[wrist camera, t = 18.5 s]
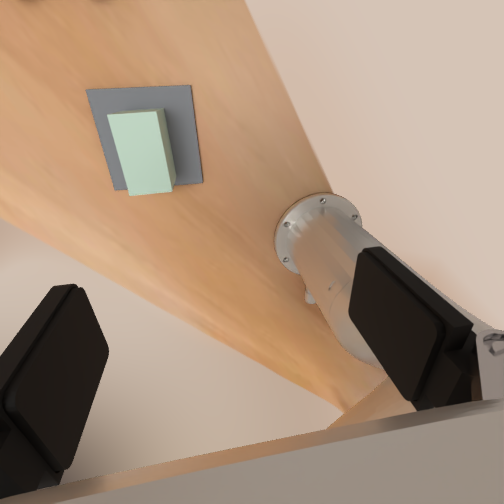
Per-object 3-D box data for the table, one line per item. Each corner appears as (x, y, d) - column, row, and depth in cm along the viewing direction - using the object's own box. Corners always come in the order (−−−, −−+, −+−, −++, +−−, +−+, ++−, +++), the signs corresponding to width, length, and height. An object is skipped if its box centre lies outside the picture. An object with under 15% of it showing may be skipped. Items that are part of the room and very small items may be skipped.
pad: (202, 181, 34) (202, 183, 33) (116, 189, 33) (114, 190, 32) (190, 85, 29) (190, 85, 28) (87, 89, 28) (85, 89, 27)
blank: (176, 175, 32) (172, 191, 27) (140, 179, 32) (129, 195, 27) (163, 108, 29) (156, 111, 24) (123, 110, 28) (106, 114, 23)
